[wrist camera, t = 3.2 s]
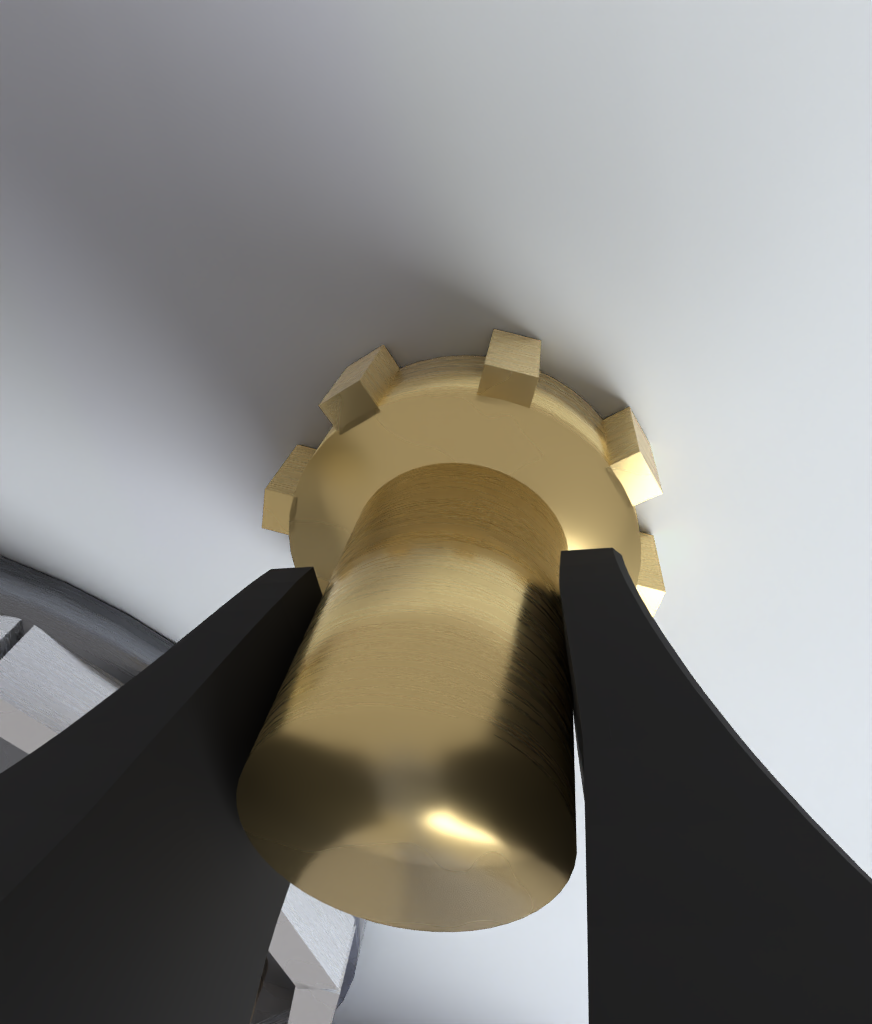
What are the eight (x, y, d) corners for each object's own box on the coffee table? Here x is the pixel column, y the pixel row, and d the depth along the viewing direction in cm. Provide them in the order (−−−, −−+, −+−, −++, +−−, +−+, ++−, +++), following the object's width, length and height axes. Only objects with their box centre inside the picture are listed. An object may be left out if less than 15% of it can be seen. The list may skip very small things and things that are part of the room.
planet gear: (722, 386, 10) (896, 701, 5) (588, 677, 13) (607, 1049, 8) (314, 283, 10) (65, 486, 5) (280, 598, 13) (108, 916, 8)
